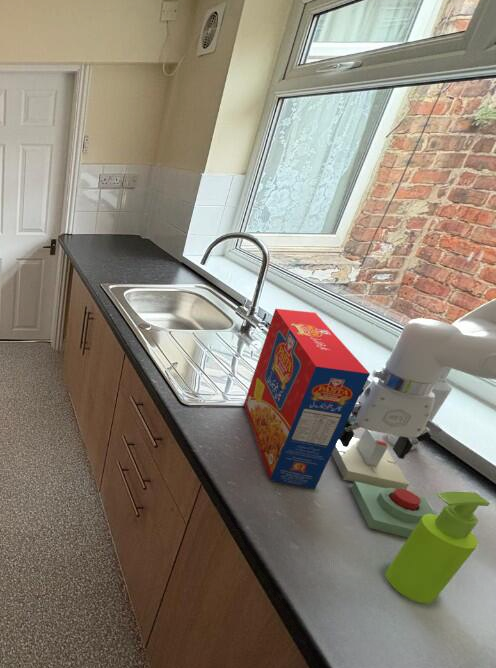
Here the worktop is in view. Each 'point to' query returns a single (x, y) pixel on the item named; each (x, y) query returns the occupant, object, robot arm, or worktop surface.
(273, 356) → the pasta box
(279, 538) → the worktop surface
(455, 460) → the worktop surface
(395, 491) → the button
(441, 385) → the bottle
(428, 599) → the soap dispenser
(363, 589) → the worktop surface
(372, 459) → the tap handle
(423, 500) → the button box
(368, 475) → the block
